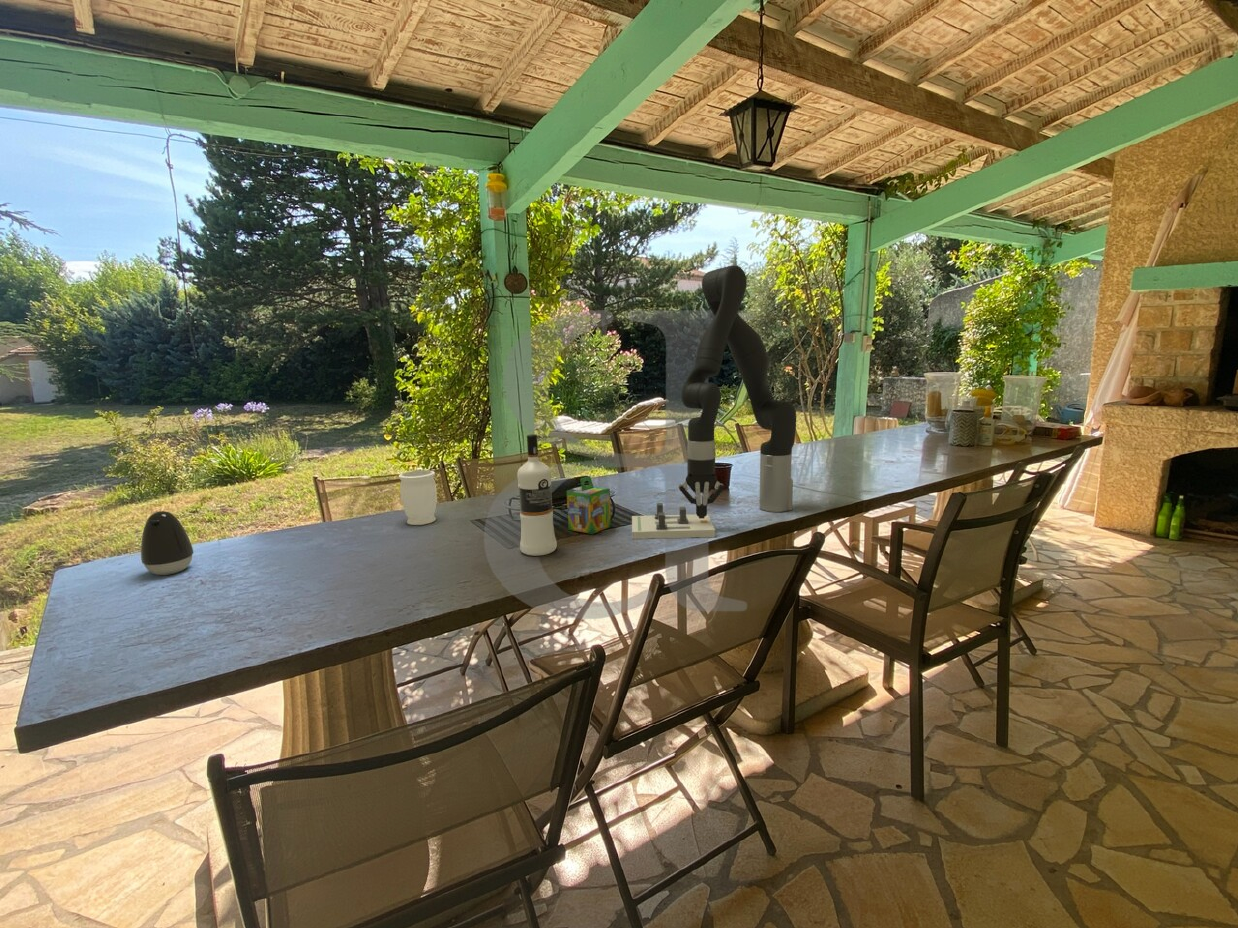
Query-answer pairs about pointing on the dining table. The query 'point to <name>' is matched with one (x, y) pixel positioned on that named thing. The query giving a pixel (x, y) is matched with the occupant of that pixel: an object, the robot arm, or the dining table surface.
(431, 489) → the jar
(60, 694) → the dining table surface
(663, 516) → the handle
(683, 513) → the handle
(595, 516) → the chalk box
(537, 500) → the vodka
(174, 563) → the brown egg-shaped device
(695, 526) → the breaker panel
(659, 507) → the handle
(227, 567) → the dining table surface
